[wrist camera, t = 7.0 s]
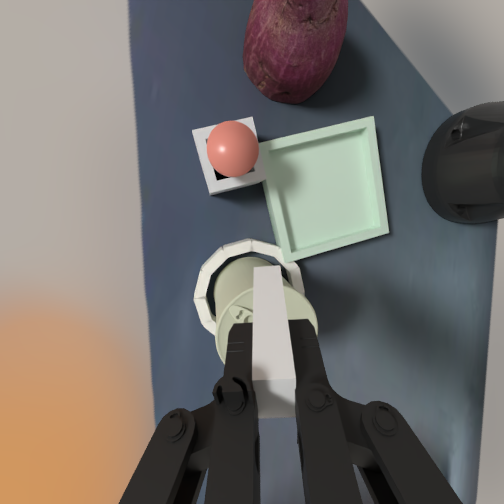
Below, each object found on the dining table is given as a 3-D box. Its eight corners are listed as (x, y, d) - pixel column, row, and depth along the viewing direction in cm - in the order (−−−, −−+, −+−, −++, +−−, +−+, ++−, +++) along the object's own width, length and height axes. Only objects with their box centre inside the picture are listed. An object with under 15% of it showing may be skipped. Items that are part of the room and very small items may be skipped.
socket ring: (286, 227, 32) (290, 228, 30) (307, 321, 35) (312, 327, 33) (182, 256, 30) (180, 259, 29) (213, 351, 33) (213, 359, 31)
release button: (242, 135, 28) (251, 115, 21) (253, 177, 29) (264, 169, 22) (202, 145, 27) (199, 127, 21) (214, 187, 28) (215, 181, 22)
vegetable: (252, 116, 32) (239, 83, 18) (235, 16, 28) (203, -123, 14) (336, 98, 31) (393, 46, 16) (329, -10, 27) (394, -191, 13)
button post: (245, 132, 29) (252, 116, 24) (257, 183, 30) (266, 178, 25) (195, 143, 28) (192, 130, 23) (210, 195, 30) (209, 193, 25)
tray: (360, 123, 31) (373, 115, 28) (376, 230, 34) (389, 232, 31) (253, 148, 29) (257, 143, 27) (279, 259, 32) (285, 263, 30)
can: (244, 242, 31) (263, 263, 20) (296, 284, 33) (341, 325, 22) (198, 298, 32) (191, 351, 20) (253, 335, 34) (275, 404, 22)
